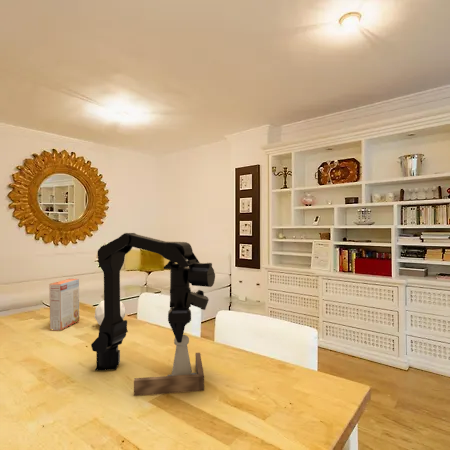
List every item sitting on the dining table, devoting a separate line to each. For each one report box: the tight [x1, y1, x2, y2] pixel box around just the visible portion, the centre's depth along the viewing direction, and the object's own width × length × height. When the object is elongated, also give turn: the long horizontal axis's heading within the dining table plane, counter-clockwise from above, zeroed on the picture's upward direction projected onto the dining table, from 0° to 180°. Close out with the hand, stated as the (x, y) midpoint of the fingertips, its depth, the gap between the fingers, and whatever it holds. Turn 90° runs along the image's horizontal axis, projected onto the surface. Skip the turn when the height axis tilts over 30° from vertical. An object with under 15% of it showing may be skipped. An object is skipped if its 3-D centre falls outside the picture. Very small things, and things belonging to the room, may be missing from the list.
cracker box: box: [48, 278, 80, 331], centre depth 148 cm, size 14×6×21 cm, turn 172°
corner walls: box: [133, 352, 205, 397], centre depth 96 cm, size 19×17×4 cm
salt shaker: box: [171, 334, 193, 376], centre depth 94 cm, size 6×6×13 cm
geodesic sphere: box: [94, 299, 127, 326], centre depth 147 cm, size 14×14×14 cm
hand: (179, 337), depth 95 cm, fingers open, 9 cm apart
